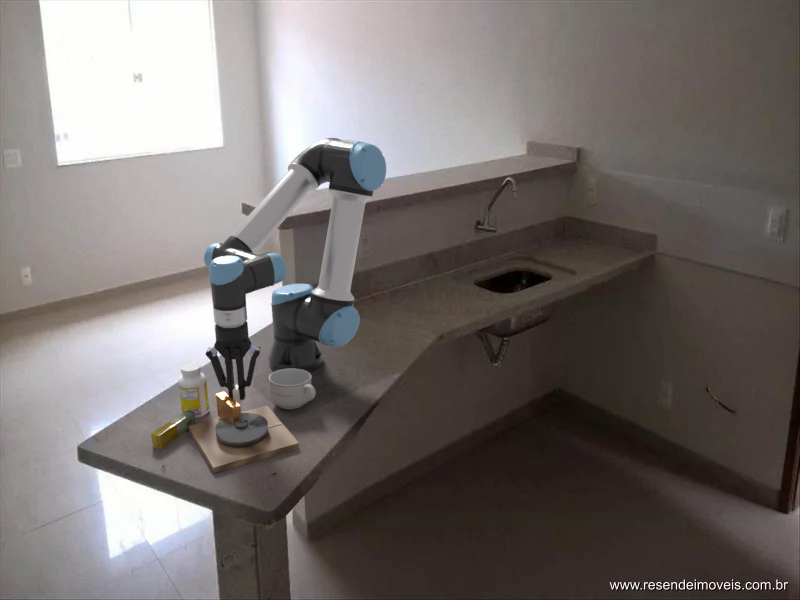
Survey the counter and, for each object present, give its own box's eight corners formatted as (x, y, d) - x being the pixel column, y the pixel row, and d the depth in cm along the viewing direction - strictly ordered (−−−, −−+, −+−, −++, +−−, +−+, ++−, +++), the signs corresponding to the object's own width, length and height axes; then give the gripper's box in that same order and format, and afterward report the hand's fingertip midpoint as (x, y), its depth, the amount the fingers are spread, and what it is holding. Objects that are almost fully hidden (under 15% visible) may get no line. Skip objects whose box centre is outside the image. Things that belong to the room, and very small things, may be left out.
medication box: (188, 424, 179) (186, 409, 178) (197, 426, 178) (195, 411, 177) (152, 448, 169) (150, 432, 168) (161, 450, 168) (158, 435, 167)
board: (267, 410, 185) (267, 405, 185) (299, 448, 169) (298, 442, 169) (188, 431, 176) (187, 425, 175) (214, 473, 160) (213, 467, 159)
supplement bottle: (198, 403, 188) (194, 358, 184) (214, 411, 184) (210, 365, 180) (176, 413, 183) (171, 367, 179) (192, 422, 180) (187, 375, 175)
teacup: (262, 401, 189) (260, 374, 187) (298, 389, 196) (296, 362, 193) (291, 423, 180) (289, 394, 177) (327, 409, 186) (327, 381, 183)
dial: (198, 423, 176) (196, 400, 173) (243, 407, 183) (242, 385, 181) (230, 453, 164) (228, 429, 162) (277, 435, 171) (276, 412, 169)
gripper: (199, 328, 167) (208, 419, 176) (256, 328, 168) (263, 418, 176) (206, 316, 174) (214, 403, 183) (261, 315, 175) (267, 402, 183)
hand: (238, 410), depth 179 cm, fingers closed
